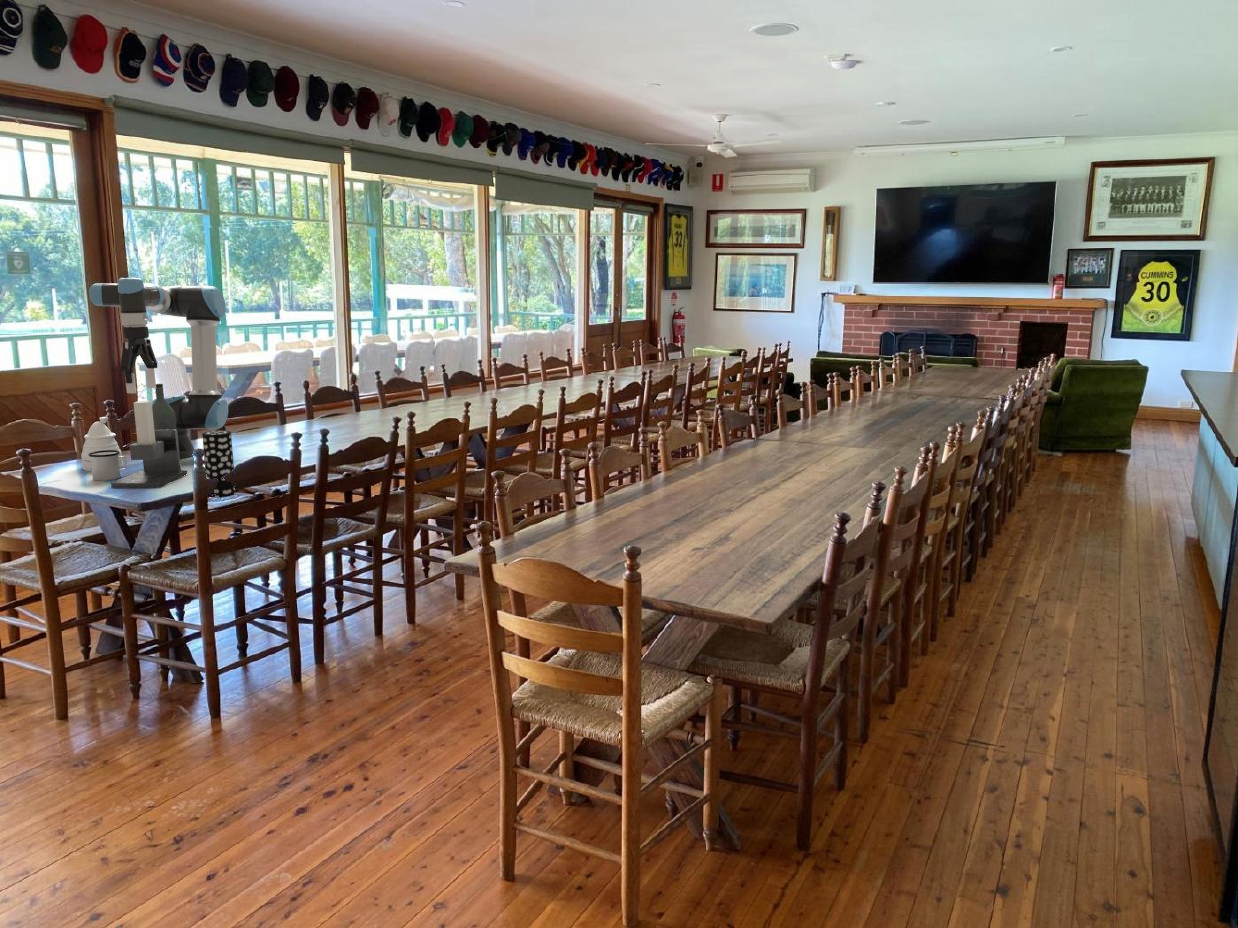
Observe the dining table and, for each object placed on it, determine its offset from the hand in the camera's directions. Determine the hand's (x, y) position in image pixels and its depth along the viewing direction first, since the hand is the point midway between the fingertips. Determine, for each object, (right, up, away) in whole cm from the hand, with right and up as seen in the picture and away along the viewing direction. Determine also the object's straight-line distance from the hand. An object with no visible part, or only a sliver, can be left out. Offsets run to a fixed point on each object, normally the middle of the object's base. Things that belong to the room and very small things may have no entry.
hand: (141, 390), depth 305 cm
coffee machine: (0, -30, +6) cm, 31 cm away
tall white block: (0, -21, +4) cm, 22 cm away
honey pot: (-29, -26, +28) cm, 48 cm away
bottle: (-7, -25, +30) cm, 40 cm away
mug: (-16, -29, +11) cm, 35 cm away
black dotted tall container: (+32, -34, -13) cm, 49 cm away
